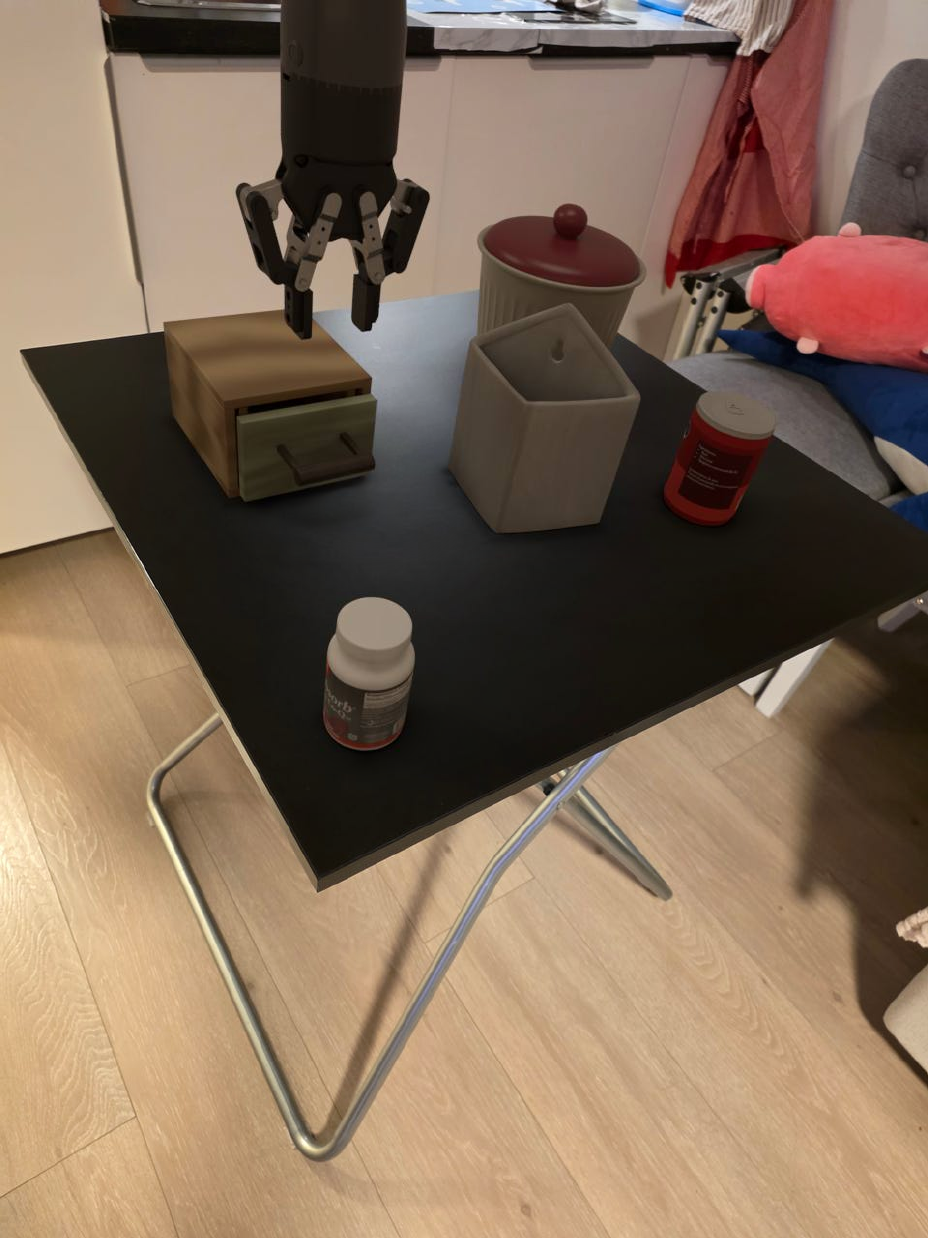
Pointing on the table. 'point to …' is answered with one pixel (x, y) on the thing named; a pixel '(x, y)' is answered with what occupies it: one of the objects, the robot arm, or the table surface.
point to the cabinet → (246, 377)
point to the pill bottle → (368, 674)
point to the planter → (541, 423)
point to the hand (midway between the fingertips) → (331, 329)
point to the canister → (555, 272)
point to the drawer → (304, 442)
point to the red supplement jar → (718, 457)
